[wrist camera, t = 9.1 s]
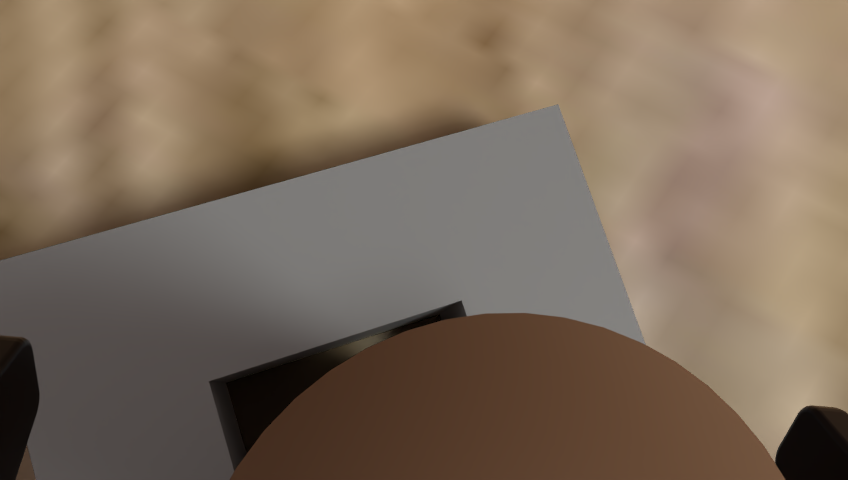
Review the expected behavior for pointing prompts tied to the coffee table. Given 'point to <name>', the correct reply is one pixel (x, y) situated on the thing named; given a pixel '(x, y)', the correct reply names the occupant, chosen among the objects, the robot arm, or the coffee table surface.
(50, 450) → the slate collar block
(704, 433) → the tall walnut pin
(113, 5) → the coffee table surface
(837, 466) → the robot arm
